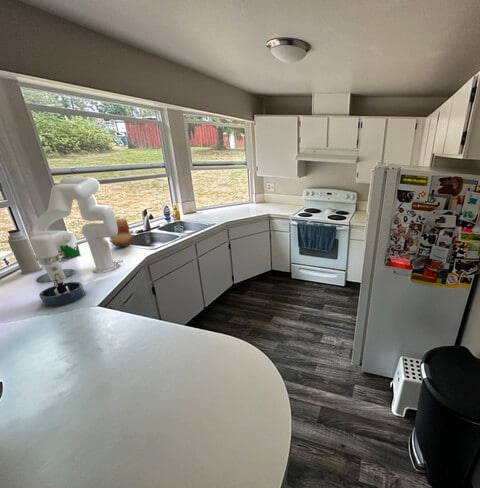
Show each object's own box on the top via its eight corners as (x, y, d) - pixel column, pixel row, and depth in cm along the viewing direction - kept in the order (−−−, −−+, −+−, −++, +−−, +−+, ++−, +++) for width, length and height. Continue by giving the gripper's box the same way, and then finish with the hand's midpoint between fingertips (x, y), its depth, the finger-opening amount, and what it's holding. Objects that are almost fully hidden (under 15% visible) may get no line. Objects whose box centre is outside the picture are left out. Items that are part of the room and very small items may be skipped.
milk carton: (62, 256, 184) (52, 230, 177) (78, 252, 191) (69, 227, 184) (66, 259, 179) (56, 232, 172) (82, 255, 186) (73, 229, 179)
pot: (80, 288, 143) (77, 279, 141) (88, 297, 135) (85, 287, 133) (41, 300, 132) (36, 290, 129) (47, 311, 123) (42, 300, 121)
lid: (71, 268, 166) (68, 259, 164) (78, 275, 157) (75, 266, 155) (34, 277, 154) (30, 267, 151) (40, 286, 145) (35, 275, 142)
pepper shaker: (65, 295, 135) (59, 280, 132) (72, 296, 135) (66, 280, 132) (57, 300, 131) (50, 284, 128) (64, 300, 131) (57, 284, 128)
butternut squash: (117, 250, 196) (108, 220, 187) (110, 247, 202) (101, 217, 194) (137, 245, 207) (130, 216, 198) (130, 242, 213) (123, 214, 205)
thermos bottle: (37, 267, 166) (20, 227, 156) (43, 270, 163) (26, 229, 153) (20, 272, 159) (1, 231, 149) (25, 275, 156) (6, 233, 146)
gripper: (63, 261, 123) (75, 292, 130) (55, 252, 133) (67, 282, 139) (41, 266, 118) (55, 299, 124) (35, 257, 127) (48, 288, 133)
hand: (61, 290), depth 131 cm, fingers closed on pepper shaker, 5 cm apart
